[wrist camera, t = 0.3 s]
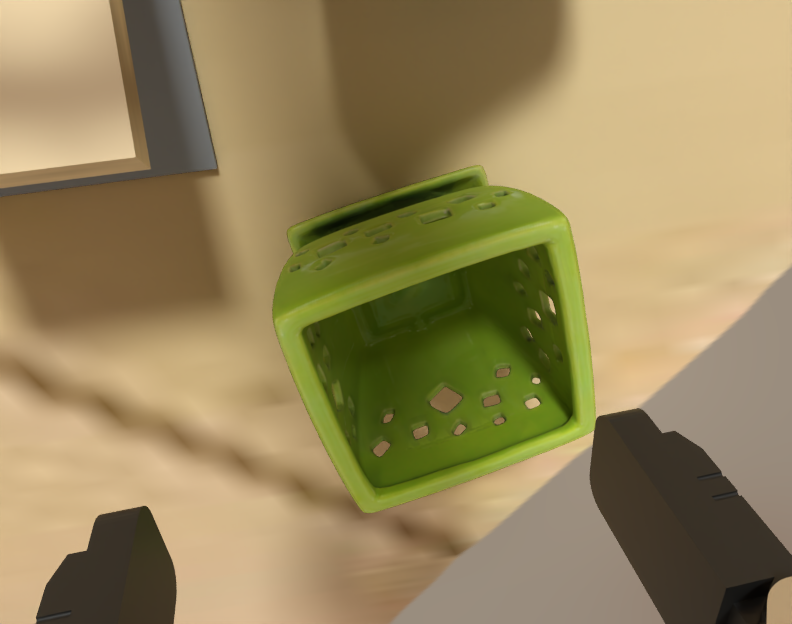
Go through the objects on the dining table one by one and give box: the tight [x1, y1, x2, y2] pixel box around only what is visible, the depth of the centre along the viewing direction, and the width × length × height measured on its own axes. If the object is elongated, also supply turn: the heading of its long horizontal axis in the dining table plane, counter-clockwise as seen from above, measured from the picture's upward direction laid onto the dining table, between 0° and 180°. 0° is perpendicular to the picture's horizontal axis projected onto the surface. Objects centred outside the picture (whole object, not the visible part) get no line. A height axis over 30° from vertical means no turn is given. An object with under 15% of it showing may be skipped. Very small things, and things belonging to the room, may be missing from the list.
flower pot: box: [272, 165, 596, 513], centre depth 36 cm, size 14×14×13 cm
